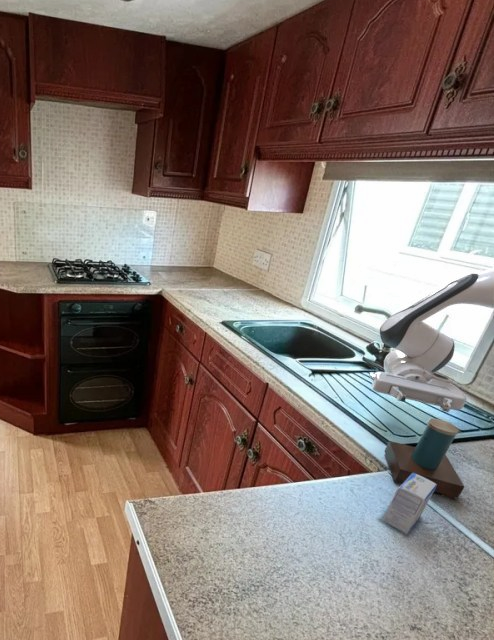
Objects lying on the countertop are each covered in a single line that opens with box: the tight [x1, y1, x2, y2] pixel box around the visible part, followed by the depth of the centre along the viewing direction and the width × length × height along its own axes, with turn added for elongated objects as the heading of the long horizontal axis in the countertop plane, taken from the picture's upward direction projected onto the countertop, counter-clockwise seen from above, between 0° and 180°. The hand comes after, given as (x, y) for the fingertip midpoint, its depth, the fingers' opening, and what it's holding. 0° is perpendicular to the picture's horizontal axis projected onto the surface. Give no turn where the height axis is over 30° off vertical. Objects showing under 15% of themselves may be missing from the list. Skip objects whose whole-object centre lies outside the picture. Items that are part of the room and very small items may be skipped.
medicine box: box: [382, 473, 437, 535], centre depth 78 cm, size 8×4×9 cm, turn 129°
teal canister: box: [411, 418, 460, 469], centre depth 90 cm, size 5×5×10 cm
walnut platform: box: [384, 440, 465, 500], centre depth 93 cm, size 12×12×4 cm
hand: (424, 403), depth 99 cm, fingers open, 8 cm apart
